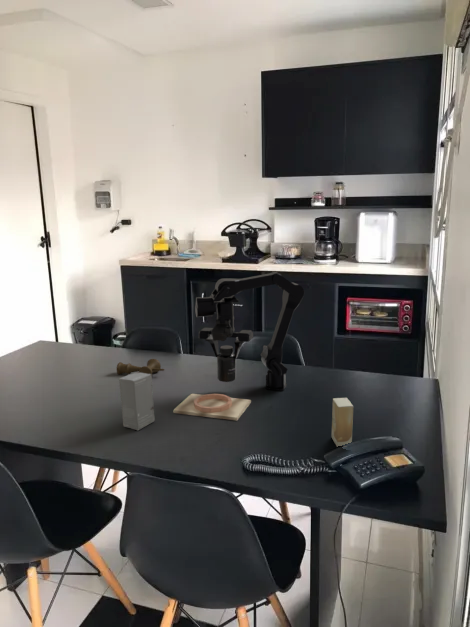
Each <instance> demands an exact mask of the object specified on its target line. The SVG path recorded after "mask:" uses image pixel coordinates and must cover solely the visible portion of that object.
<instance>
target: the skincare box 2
mask: <svg viewBox="0 0 470 627" xmlns="http://www.w3.org/2000/svg"><path fill="white" fill-rule="evenodd" d="M331 411H332V415H331V416H332V417H331V438H332V440H333V442H334V444H335V446H336V448H337V447H338V446H342V445H345V444H348V443H351V442H352V443H353V426H354V425H353V424H354V423H353V420H354V405H353V404H352V403H351V401H350V400H349V399H348V397H335V398H332V410H331ZM338 448H339V447H338Z"/></svg>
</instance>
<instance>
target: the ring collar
mask: <svg viewBox="0 0 470 627" xmlns="http://www.w3.org/2000/svg"><path fill="white" fill-rule="evenodd" d="M201 395H202V396H199V397H197V398H196V399H195V400H194V407H195V409H197V410H199V411H201V412H209V413H213V412H221V411H224V410H227V409H229V408H230V407H231V405H232V400H231V398H232V397H230V396H229V395H226V394H223V393H207V394H201ZM206 399H222V400H224V401H227V403H226V404H224V405H222V406H217V407H206V406H202V405H199V404H198V403H199V402H201V401H203V400H206Z"/></svg>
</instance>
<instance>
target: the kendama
mask: <svg viewBox="0 0 470 627" xmlns="http://www.w3.org/2000/svg"><path fill="white" fill-rule="evenodd" d="M161 367H162V366H161V363H160V361H159V360H158V359H157V358H150V359H149V360H148V361H147V362H146V365H145V366H137V365H132V363H129V362H128V363H127V364H125V363H123V362H121V361H120V362H118V363H117V365H116V373H117V375H119V376H120V374H121V375H123V374H127V375H129V374H133V373H136V372H140V373H146V374H151V377H152V378H153V374H155V373H159V372H161V371H162V372H164V371H166V369H164V368H161Z"/></svg>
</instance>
